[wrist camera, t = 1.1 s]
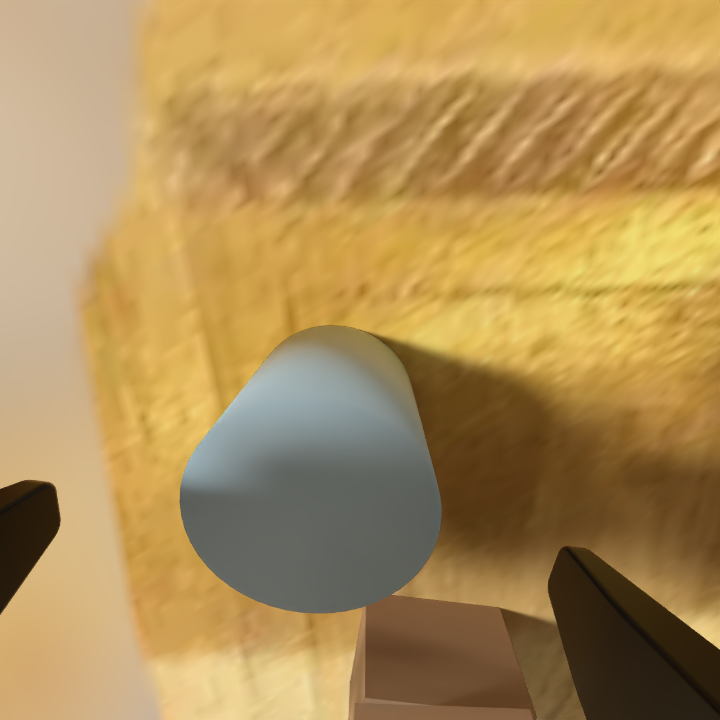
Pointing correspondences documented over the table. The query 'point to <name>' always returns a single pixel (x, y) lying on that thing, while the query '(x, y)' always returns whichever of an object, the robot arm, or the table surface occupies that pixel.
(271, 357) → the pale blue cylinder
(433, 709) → the upper block
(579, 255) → the table surface
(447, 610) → the lower block
